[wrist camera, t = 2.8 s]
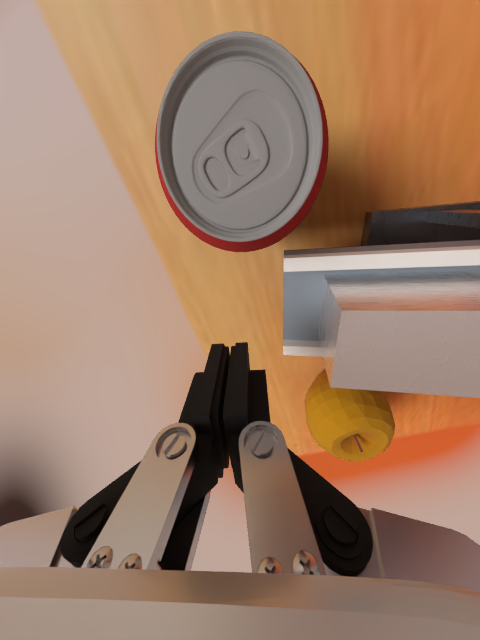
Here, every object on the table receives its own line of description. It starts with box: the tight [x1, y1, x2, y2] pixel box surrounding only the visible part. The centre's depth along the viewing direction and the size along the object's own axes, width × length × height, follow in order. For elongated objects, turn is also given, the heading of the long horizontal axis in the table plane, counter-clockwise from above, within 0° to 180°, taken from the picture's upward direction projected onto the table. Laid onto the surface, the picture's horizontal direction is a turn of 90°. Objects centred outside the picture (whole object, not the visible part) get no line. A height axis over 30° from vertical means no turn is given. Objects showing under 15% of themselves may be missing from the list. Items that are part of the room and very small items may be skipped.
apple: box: [305, 371, 395, 461], centre depth 23 cm, size 8×8×9 cm
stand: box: [361, 201, 480, 246], centre depth 15 cm, size 11×24×11 cm, turn 95°
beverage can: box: [155, 31, 328, 252], centre depth 12 cm, size 7×7×12 cm
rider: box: [318, 271, 480, 398], centre depth 11 cm, size 4×7×5 cm, turn 95°
